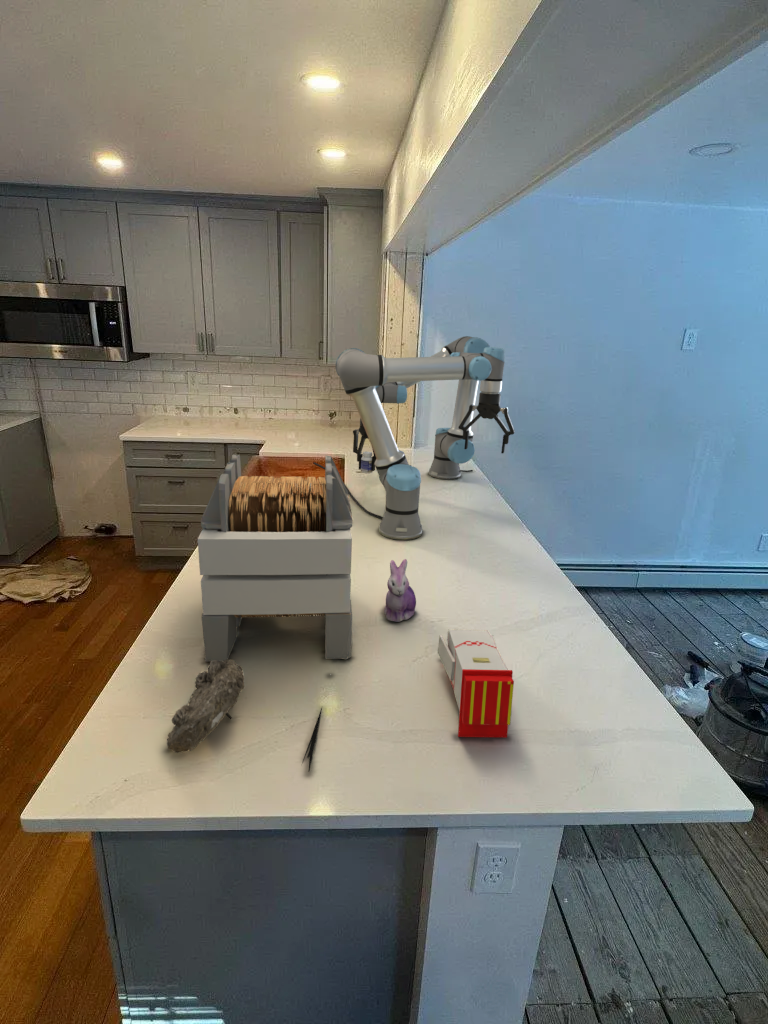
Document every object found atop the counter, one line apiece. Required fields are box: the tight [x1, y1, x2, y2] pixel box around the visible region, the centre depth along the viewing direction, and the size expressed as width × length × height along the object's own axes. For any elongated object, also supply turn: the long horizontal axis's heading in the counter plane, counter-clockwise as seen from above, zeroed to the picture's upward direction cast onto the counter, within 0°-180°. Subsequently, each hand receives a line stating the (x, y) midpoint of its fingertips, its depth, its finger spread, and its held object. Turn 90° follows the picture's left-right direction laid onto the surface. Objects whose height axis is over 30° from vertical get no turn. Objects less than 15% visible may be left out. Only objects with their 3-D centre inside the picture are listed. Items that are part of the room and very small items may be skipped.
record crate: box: [197, 454, 354, 663], centre depth 134 cm, size 34×33×41 cm
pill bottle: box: [360, 451, 374, 475], centre depth 248 cm, size 5×5×9 cm
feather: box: [301, 673, 332, 771], centre depth 108 cm, size 2×28×2 cm
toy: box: [437, 628, 515, 738], centre depth 117 cm, size 12×13×30 cm
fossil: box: [166, 658, 245, 754], centre depth 106 cm, size 22×10×15 cm
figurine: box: [384, 558, 417, 623], centre depth 145 cm, size 9×10×15 cm
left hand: (484, 450), depth 210 cm, fingers open, 13 cm apart
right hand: (366, 469), depth 249 cm, fingers closed on pill bottle, 5 cm apart
